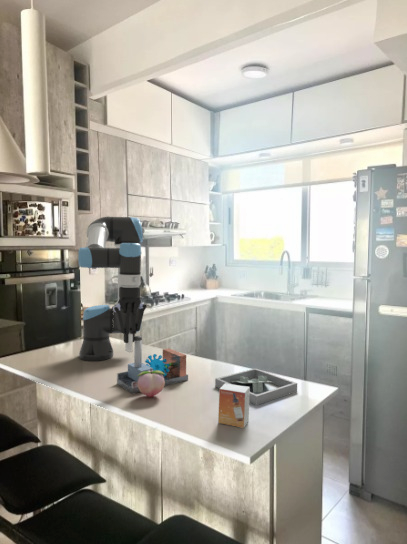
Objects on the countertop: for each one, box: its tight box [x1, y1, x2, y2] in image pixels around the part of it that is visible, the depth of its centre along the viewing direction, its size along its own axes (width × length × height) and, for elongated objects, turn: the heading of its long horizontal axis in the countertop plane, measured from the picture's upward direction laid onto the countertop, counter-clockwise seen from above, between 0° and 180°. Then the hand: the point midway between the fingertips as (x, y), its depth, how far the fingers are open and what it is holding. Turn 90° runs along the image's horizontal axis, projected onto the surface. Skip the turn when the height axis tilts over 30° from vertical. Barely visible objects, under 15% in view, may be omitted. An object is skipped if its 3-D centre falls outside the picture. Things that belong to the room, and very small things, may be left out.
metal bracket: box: [231, 376, 272, 394], centre depth 147 cm, size 14×6×15 cm
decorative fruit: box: [137, 370, 165, 398], centre depth 135 cm, size 9×8×10 cm
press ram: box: [127, 335, 153, 381], centre depth 145 cm, size 10×5×16 cm, turn 39°
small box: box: [217, 383, 251, 429], centre depth 116 cm, size 8×6×10 cm
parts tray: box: [214, 368, 298, 406], centre depth 144 cm, size 21×21×3 cm
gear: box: [144, 353, 171, 377], centre depth 152 cm, size 11×6×10 cm
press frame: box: [116, 347, 189, 395], centre depth 149 cm, size 12×24×10 cm, turn 129°
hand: (128, 351), depth 142 cm, fingers closed
